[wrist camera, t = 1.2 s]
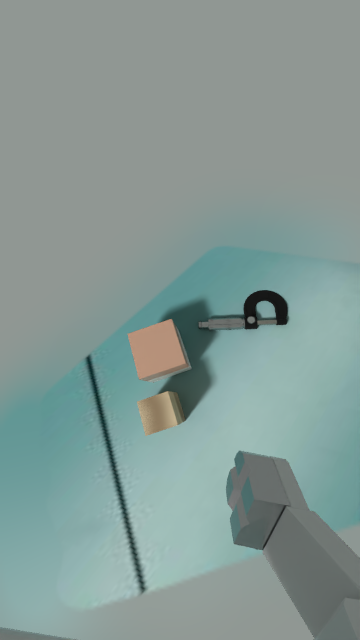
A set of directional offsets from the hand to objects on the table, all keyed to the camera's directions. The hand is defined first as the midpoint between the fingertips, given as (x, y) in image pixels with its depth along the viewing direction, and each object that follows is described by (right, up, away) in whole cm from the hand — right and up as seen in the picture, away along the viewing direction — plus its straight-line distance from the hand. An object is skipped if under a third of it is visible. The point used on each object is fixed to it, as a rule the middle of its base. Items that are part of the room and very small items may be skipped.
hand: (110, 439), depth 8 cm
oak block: (0, -11, +34) cm, 36 cm away
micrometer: (+13, +5, +38) cm, 40 cm away
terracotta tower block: (-1, -1, +33) cm, 33 cm away
